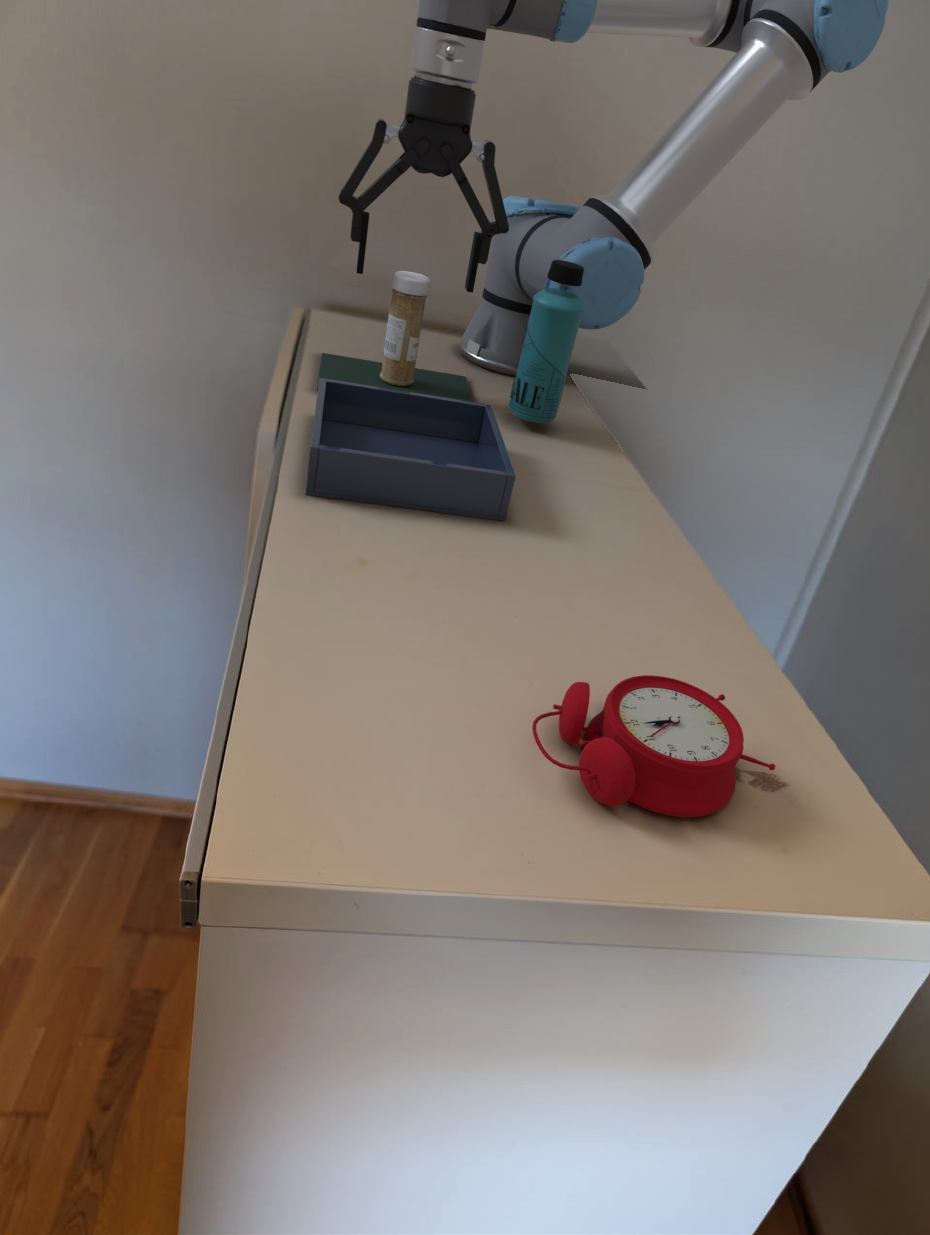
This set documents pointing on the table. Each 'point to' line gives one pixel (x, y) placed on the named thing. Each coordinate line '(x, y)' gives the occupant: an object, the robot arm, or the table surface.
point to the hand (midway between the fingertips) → (414, 280)
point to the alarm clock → (654, 745)
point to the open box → (408, 451)
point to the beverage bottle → (547, 346)
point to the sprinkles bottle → (404, 327)
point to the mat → (370, 375)
